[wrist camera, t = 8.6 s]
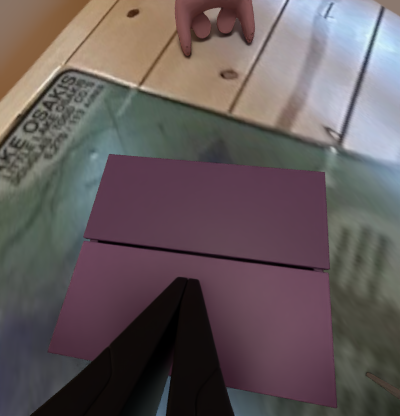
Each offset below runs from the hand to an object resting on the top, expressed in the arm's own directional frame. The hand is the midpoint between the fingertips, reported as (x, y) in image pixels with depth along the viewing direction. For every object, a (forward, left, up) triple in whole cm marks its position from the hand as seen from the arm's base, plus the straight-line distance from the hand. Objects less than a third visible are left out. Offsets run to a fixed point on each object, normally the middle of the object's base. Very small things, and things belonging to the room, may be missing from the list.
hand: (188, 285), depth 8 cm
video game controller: (+18, -26, -12) cm, 34 cm away
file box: (+1, -1, -12) cm, 12 cm away
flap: (-1, +1, -3) cm, 3 cm away
